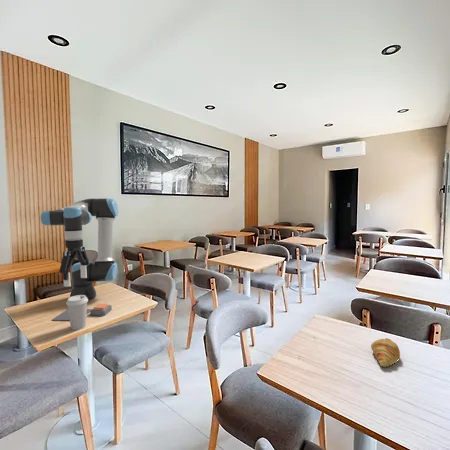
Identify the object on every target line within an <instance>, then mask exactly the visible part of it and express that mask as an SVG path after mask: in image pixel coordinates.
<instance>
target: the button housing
mask: <svg viewBox="0 0 450 450" xmlns="http://www.w3.org/2000/svg"><path fill="white" fill-rule="evenodd" d="M91 309H92V310H91V311H90V312H89V313H90V316H98V317H99V316H101V317H102V316H103V317H104V316H106V315H108V313H111V310H112V309H113V307H112V305H111V304H108V307H107V308H106V309H105V310H94V307H93V308H91Z"/></svg>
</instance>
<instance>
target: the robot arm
mask: <svg viewBox="0 0 450 450" xmlns="http://www.w3.org/2000/svg"><path fill="white" fill-rule="evenodd" d="M118 207H119V206H118V204H117V202H116V200H115V199H114V198H85V199H82V200H79V201H76V202H74V203H73V204H70V205H68V206H65V207H62V208H58V209H54V210H50V209H49V210H43V211H42V212H41V214H40V222H41V224H42V225H44V226H63V228H64V229H63V230H64V239H65V241H64V247H65V248H66V249H67V251H64V250H63V252H62V257H61V264H60V267H59V274H62V275H63V276H62V278H63V287H71V286H72V287H71V290H70V295H69V298H70V297H72V296H76V295H85V296H86V297H87V299H88V301H90V300H92V299H95V298H96V297H97V291H96V288H95V286H94V282H111V281H114V280H115V278H116V276H117V274H118V268H119V267H118V263H117V262H115V259H114V258H113V223H114V220H116V217H118V215H119V208H118ZM92 217H95V219H96V220H97V222H98V224H97V226H98V227H97V229H98V231H97V257H96V259H95V260H94V263H93V261H92V260H89V257H88V255H87V252H86V247H85V246H84V241H83V238H84V236H83V234H84V233H83V226H86V225H87V224H89V223H91V221H92V219H93V218H92ZM75 259H77V260H78V261H79V262H76V263H74V264H73V262H74V261H75ZM72 264H73V265H72ZM70 270H71V272H70ZM71 282H72V283H71ZM71 284H72V285H71Z"/></svg>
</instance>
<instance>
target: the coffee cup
mask: <svg viewBox="0 0 450 450" xmlns="http://www.w3.org/2000/svg"><path fill="white" fill-rule="evenodd" d="M88 302H89V300H88V299H87V297H86V296H85V295H76V296H72V297H70V296H69V297H68V299H67V301H66V303H65V305H66V306H67V309H68V312H69V318H70V321H69V322H70V323H69V324H70V329H71V330H73V331H78V330H81V329H84V328H85V327H87V314H86V313H87V309H88Z"/></svg>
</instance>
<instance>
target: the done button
mask: <svg viewBox="0 0 450 450" xmlns="http://www.w3.org/2000/svg"><path fill="white" fill-rule="evenodd" d="M108 305H109V303H98V304H96V305H95V306H94V307H93V308H94V310H105V309H106V308H107V307H108Z"/></svg>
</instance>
